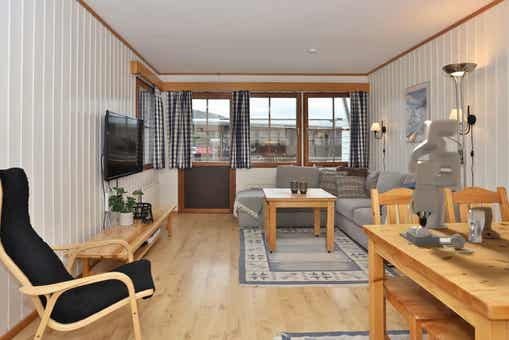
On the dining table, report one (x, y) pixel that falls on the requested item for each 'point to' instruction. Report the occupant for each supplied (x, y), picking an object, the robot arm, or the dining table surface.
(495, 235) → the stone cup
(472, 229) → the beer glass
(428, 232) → the dome button
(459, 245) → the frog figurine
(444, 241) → the game board
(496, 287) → the dining table surface
